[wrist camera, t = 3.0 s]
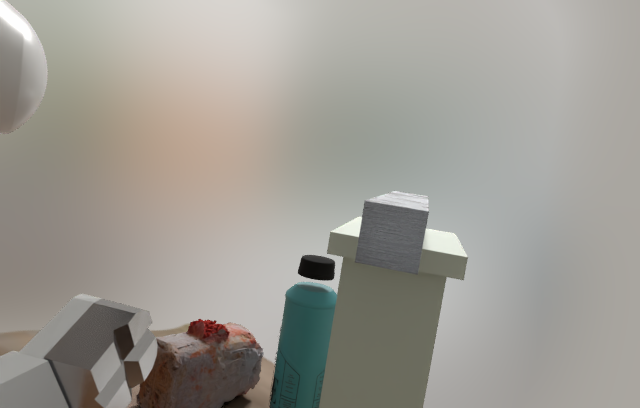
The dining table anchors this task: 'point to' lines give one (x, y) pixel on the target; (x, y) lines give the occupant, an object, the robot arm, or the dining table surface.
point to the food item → (202, 367)
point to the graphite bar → (393, 231)
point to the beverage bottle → (304, 337)
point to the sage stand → (386, 323)
